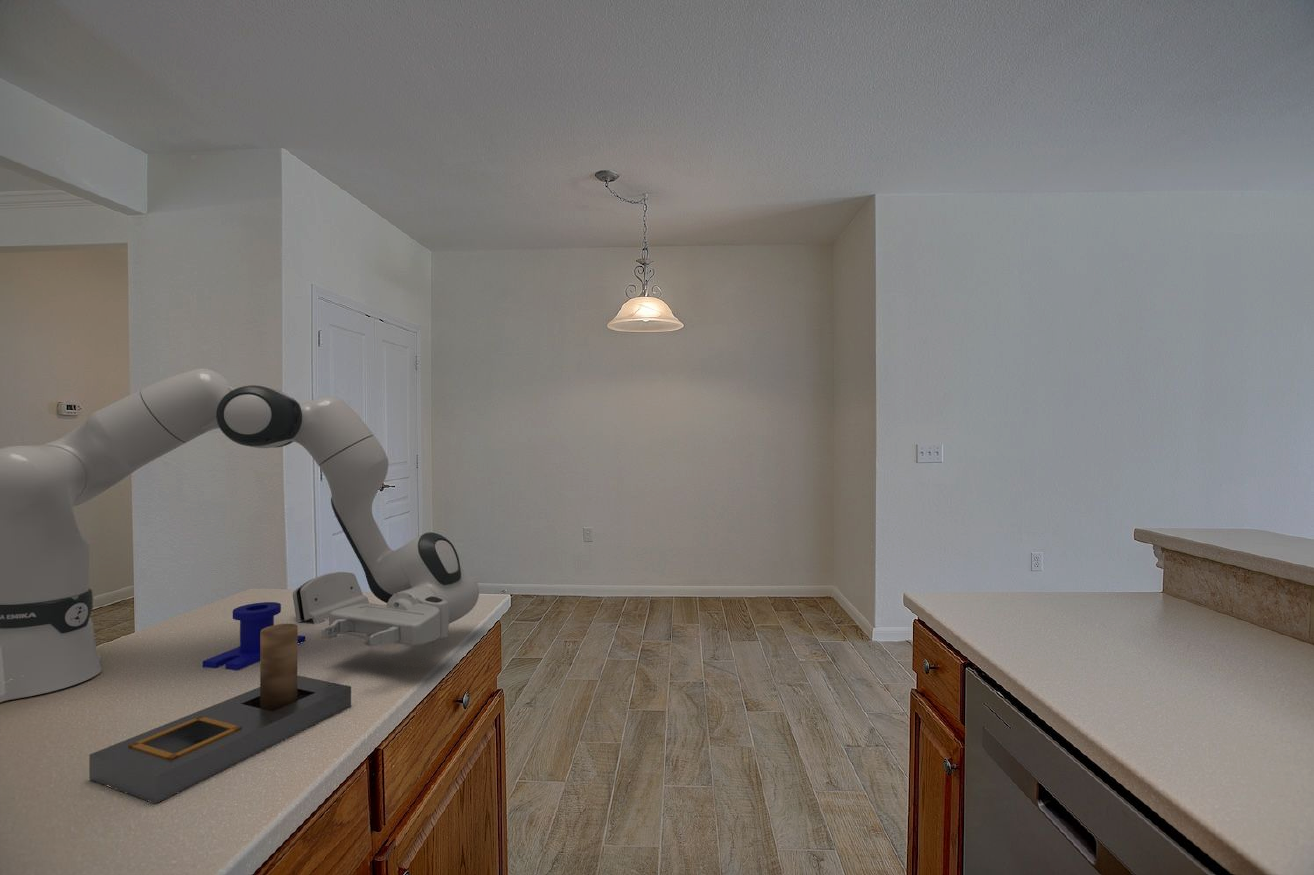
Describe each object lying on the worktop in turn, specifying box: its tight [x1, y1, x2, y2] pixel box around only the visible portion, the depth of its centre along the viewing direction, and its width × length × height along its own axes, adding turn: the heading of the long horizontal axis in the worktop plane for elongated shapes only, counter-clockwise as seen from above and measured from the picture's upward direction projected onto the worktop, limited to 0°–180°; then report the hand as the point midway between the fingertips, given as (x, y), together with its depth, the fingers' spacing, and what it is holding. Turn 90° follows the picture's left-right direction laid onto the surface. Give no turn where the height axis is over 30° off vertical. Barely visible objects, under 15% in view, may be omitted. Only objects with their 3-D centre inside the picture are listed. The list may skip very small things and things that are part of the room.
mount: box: [202, 601, 306, 671], centre depth 111 cm, size 15×8×9 cm, turn 169°
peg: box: [259, 623, 299, 712], centre depth 85 cm, size 4×4×13 cm
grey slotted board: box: [88, 674, 352, 805], centre depth 79 cm, size 12×26×3 cm, turn 159°
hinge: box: [292, 571, 370, 624], centre depth 137 cm, size 17×5×10 cm, turn 165°
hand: (346, 637), depth 95 cm, fingers open, 8 cm apart
